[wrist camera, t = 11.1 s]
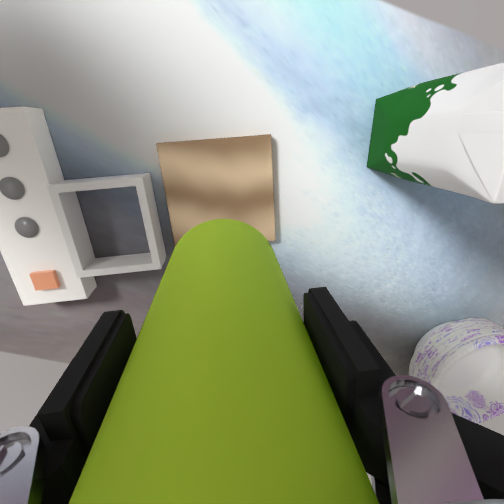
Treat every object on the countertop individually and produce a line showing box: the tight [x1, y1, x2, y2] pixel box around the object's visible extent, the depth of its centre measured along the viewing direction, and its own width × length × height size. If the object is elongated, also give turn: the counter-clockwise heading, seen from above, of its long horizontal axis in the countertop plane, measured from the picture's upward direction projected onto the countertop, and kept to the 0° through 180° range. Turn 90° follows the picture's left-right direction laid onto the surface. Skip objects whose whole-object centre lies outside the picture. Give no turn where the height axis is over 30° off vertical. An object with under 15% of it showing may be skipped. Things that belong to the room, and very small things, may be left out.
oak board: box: [156, 135, 276, 246], centre depth 34 cm, size 12×12×1 cm
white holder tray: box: [0, 106, 166, 306], centre depth 31 cm, size 20×16×4 cm
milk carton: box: [367, 63, 504, 204], centre depth 24 cm, size 9×9×20 cm
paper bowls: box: [409, 318, 504, 423], centre depth 43 cm, size 15×15×8 cm
